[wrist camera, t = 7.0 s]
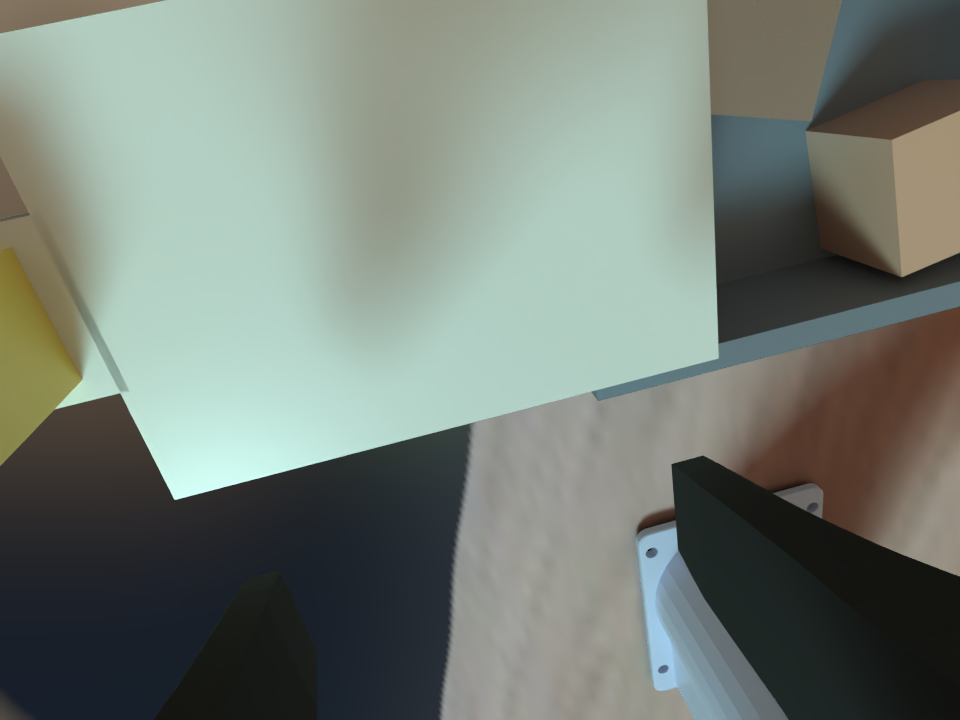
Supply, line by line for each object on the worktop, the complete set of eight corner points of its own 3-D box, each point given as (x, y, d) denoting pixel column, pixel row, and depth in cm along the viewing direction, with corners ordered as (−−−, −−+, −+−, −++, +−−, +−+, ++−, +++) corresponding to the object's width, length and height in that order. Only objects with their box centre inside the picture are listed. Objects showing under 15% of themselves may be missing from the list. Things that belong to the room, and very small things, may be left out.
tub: (978, 233, 22) (1114, 265, 18) (553, 341, 21) (598, 401, 17) (1042, -185, 17) (1250, -267, 13) (488, -73, 16) (529, -126, 12)
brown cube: (735, 115, 19) (811, 121, 16) (609, 106, 18) (661, 110, 15) (768, -42, 17) (860, -70, 14) (631, -58, 16) (695, -92, 13)
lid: (703, 346, 17) (808, 428, 13) (79, 507, 16) (-18, 652, 12) (683, -98, 13) (831, -182, 9) (-177, 77, 11) (-468, 73, 7)
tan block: (930, 201, 21) (1031, 221, 18) (820, 248, 21) (902, 277, 18) (924, 79, 19) (1034, 78, 16) (805, 130, 19) (892, 139, 16)
